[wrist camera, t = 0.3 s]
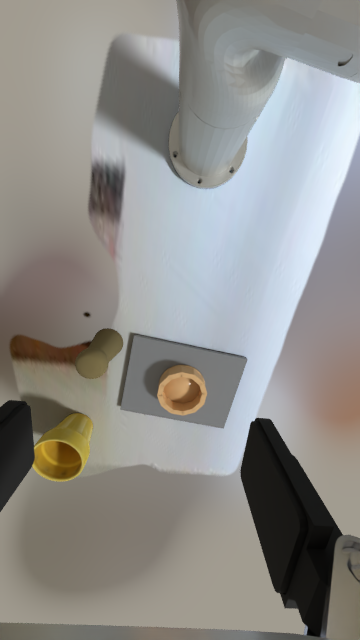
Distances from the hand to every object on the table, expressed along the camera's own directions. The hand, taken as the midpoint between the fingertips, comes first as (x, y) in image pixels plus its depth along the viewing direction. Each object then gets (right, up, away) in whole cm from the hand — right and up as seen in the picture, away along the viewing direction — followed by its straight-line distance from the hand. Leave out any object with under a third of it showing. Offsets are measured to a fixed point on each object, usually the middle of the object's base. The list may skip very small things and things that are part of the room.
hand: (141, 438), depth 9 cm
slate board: (+2, -9, +39) cm, 41 cm away
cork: (-13, 0, +37) cm, 39 cm away
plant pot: (-22, -19, +42) cm, 52 cm away
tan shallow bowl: (+2, -9, +39) cm, 40 cm away
